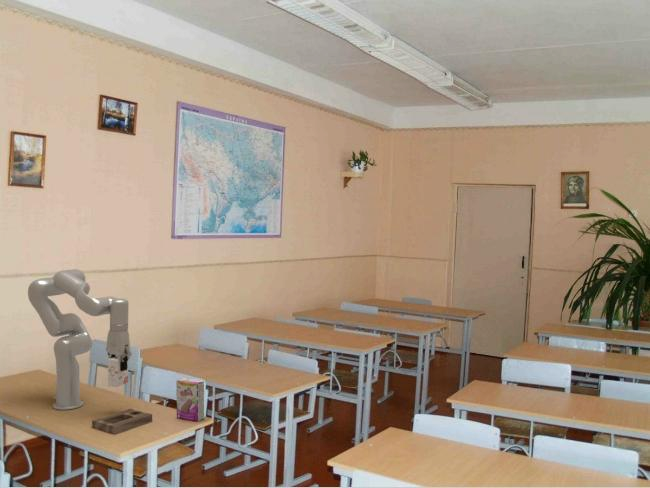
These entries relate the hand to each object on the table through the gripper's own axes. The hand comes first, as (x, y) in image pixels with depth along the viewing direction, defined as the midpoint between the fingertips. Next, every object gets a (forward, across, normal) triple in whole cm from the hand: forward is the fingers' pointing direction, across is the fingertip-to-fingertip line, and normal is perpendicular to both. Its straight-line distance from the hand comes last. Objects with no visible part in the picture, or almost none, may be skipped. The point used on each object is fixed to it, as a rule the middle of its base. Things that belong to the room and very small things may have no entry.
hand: (118, 368), depth 275 cm
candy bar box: (+19, +30, +13) cm, 38 cm away
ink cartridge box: (+7, 0, 0) cm, 7 cm away
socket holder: (+20, +13, -8) cm, 25 cm away
